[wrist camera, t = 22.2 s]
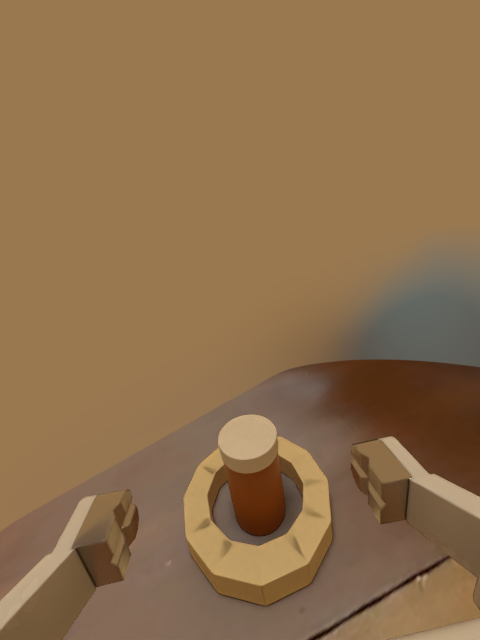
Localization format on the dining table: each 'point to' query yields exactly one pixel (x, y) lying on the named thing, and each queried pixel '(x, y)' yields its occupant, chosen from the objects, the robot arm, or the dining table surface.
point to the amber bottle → (253, 473)
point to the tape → (267, 559)
